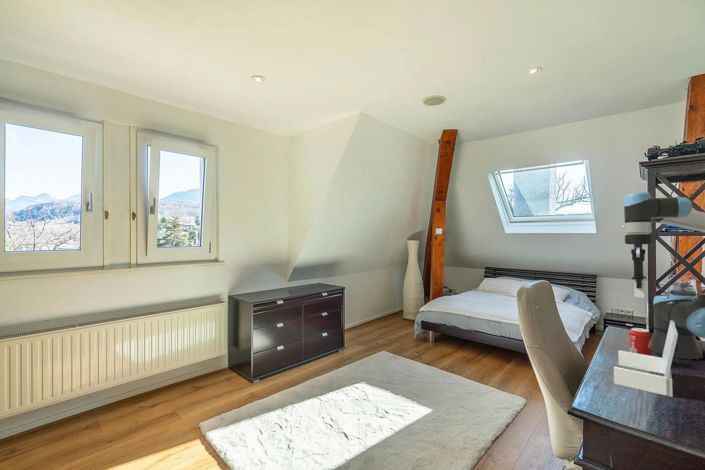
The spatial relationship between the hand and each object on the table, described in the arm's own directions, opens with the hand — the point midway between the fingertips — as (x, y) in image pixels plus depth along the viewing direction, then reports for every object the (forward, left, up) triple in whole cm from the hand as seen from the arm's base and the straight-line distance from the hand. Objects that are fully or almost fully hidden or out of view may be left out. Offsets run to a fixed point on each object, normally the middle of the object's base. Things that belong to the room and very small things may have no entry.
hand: (639, 296), depth 120 cm
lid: (+9, +18, -13) cm, 24 cm away
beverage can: (0, 0, -25) cm, 25 cm away
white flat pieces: (+14, +13, -25) cm, 31 cm away
